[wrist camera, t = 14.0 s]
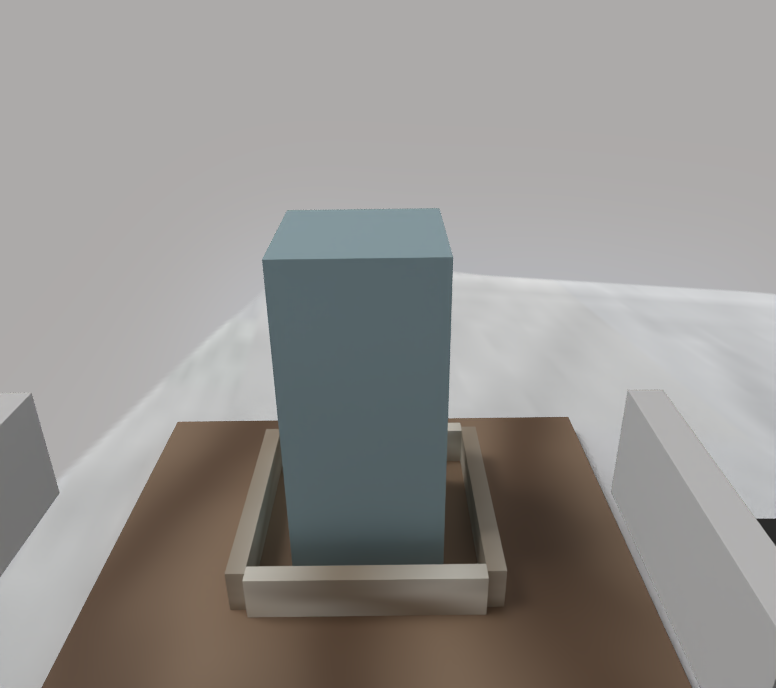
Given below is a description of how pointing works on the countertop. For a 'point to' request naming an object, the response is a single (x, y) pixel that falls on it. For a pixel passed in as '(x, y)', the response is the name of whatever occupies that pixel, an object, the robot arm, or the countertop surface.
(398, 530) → the blue-grey tall block
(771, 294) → the countertop surface
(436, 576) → the board
